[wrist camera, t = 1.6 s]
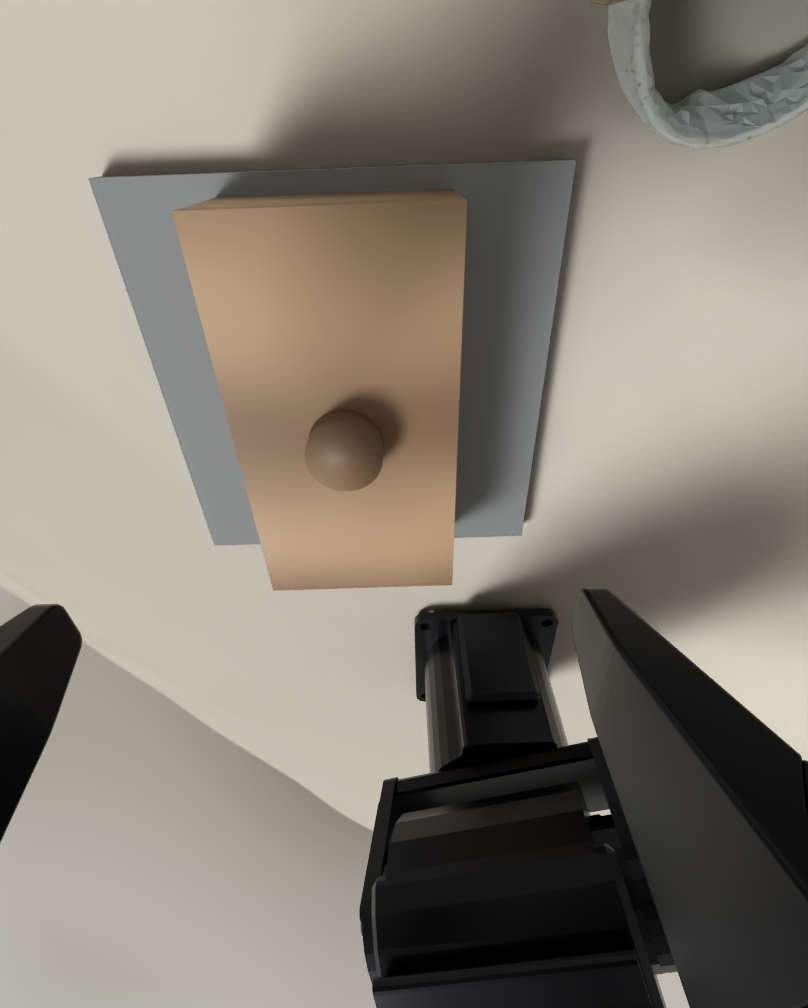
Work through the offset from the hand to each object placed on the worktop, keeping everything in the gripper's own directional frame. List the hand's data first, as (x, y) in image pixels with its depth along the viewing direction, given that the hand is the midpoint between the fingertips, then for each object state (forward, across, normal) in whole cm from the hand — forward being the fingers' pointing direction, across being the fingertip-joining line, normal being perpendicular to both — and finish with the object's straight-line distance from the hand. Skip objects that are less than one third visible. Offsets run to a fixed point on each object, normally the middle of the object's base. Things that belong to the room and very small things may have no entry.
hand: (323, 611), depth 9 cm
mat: (+9, 0, 0) cm, 9 cm away
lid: (+9, 0, 0) cm, 9 cm away
